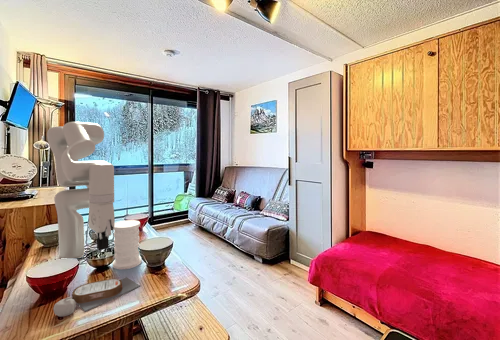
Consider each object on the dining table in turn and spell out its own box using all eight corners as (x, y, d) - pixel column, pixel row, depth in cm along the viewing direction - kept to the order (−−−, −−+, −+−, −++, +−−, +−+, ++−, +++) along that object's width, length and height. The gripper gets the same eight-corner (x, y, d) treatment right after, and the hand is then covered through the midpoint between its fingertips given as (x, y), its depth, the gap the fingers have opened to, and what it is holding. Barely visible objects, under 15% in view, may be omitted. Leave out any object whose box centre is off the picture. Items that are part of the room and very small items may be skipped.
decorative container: (142, 256, 116) (141, 219, 115) (141, 267, 105) (140, 226, 104) (114, 259, 112) (113, 221, 110) (110, 271, 101) (109, 229, 100)
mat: (73, 299, 82) (73, 298, 82) (126, 277, 96) (126, 276, 96) (85, 311, 76) (85, 310, 76) (140, 286, 90) (140, 285, 90)
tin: (74, 292, 85) (69, 308, 78) (73, 284, 85) (68, 299, 77) (122, 282, 92) (122, 296, 85) (122, 274, 92) (122, 287, 84)
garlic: (81, 308, 78) (80, 292, 77) (69, 320, 72) (68, 303, 72) (62, 308, 77) (61, 292, 77) (48, 320, 72) (47, 303, 72)
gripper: (81, 196, 86) (82, 245, 88) (99, 203, 78) (100, 258, 80) (103, 193, 92) (104, 239, 94) (123, 200, 84) (123, 251, 86)
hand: (102, 248), depth 87 cm, fingers closed
